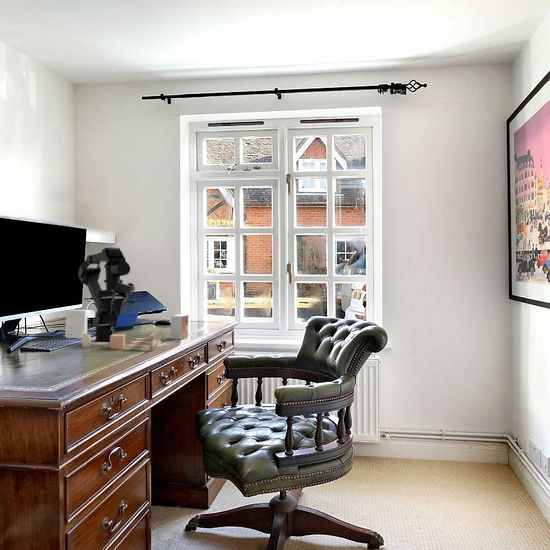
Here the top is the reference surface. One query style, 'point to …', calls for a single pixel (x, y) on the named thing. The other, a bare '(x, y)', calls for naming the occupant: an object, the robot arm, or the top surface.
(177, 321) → the small box
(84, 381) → the top surface
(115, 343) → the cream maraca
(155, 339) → the lane rack
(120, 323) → the blue bin
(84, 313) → the white rectangular block
